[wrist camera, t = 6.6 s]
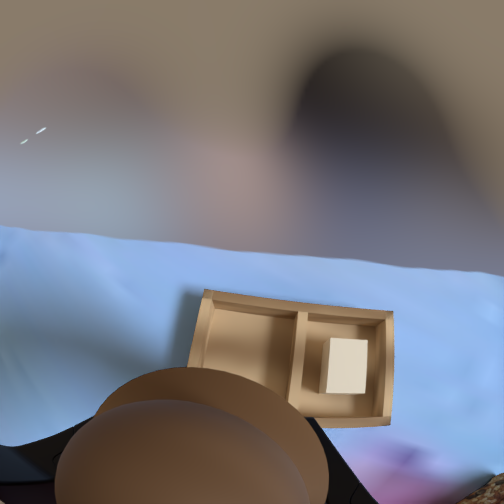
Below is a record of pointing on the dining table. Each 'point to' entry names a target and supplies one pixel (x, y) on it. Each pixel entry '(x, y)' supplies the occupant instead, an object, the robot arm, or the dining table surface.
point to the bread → (488, 493)
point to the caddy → (297, 352)
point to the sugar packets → (343, 367)
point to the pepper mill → (193, 445)
